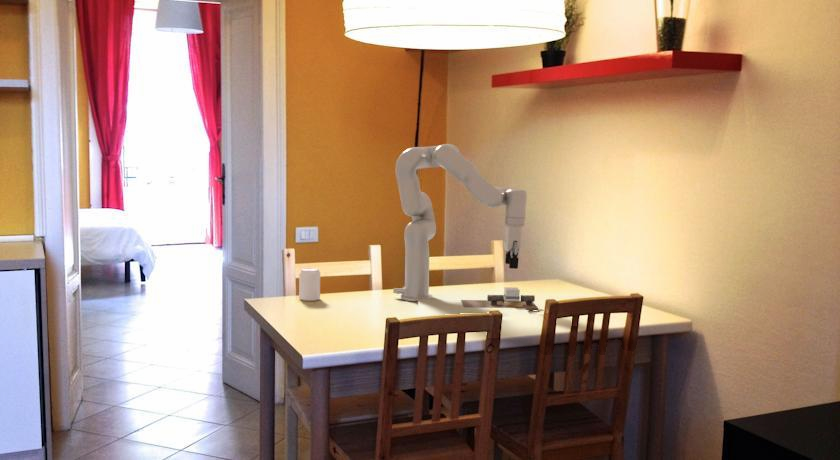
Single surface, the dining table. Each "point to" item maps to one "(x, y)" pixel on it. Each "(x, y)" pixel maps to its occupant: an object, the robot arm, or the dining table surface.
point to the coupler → (511, 294)
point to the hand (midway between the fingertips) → (511, 266)
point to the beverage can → (309, 284)
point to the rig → (502, 302)
